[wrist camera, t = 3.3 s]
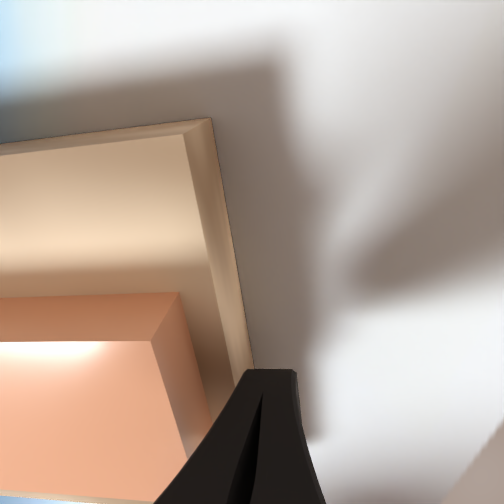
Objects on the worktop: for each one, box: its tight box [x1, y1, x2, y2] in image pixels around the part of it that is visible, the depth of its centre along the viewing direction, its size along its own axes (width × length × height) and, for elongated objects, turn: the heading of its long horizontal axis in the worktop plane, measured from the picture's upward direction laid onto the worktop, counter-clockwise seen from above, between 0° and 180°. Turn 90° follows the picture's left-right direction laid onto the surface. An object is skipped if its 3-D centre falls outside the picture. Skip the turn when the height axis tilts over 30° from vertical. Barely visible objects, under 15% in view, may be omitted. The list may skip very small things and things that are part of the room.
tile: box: [0, 292, 213, 502], centre depth 12 cm, size 6×9×2 cm, turn 98°
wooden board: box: [0, 118, 254, 504], centre depth 14 cm, size 14×12×2 cm
